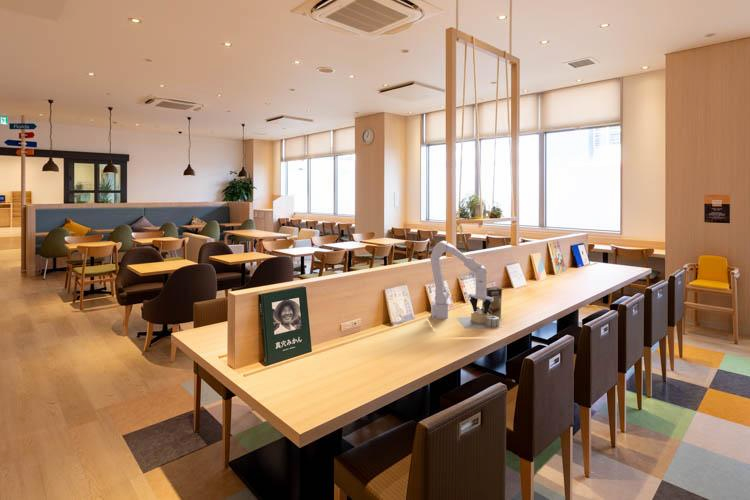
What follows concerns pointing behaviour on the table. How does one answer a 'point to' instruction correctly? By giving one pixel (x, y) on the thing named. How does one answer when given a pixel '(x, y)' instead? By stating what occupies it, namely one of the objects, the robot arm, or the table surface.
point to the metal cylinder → (480, 310)
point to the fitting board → (473, 324)
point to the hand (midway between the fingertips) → (480, 312)
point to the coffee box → (496, 304)
